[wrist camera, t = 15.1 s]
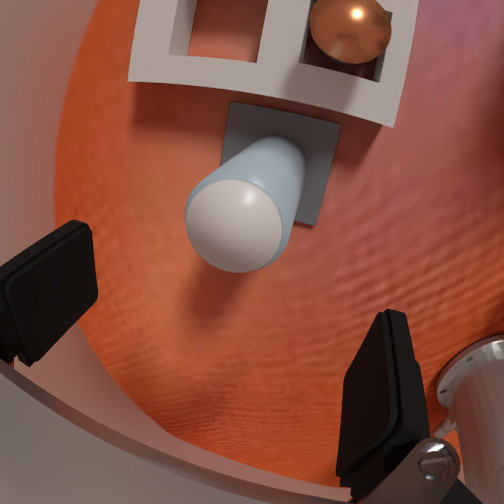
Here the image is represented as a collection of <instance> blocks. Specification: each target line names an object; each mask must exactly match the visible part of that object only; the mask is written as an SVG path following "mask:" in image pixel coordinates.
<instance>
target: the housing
mask: <svg viewBox="0 0 504 504" xmlns="http://www.w3.org/2000/svg"><path fill="white" fill-rule="evenodd" d="M197 1H198V0H140V5H139V10H138V15H137V21H136V27H135V33H134V39H133V45H132V52H131V59H130V67H129V75H128V81H134V82H156V83H171V84H183V85H194V86H203V87H212V88H220V89H228V90H235V91H241V92H248V93H254V94H260V95H265V96H271V97H276V98H281V99H286V100H291V101H296V102H300V103H305V104H309V105H314V106H318V107H322V108H326V109H330V110H334V111H338V112H342V113H345V114H349V115H353V116H356V117H360V118H363V119H366V120H370V121H373V122H376V123H379V124H383V125H386V126H389V127H392V128H393V127H394V123H395V119H396V115H397V111H398V107H399V103H400V98H401V94H402V90H403V85H404V80H405V76H406V71H407V66H408V61H409V56H410V51H411V45H412V39H413V34H414V28H415V21H416V15H417V8H418V1H419V0H376V1H377V2H378V3H379V4H380V5H381V6H382V7H383V8H384V10H385V11H386V13H387V15H388V17H389V19H390V22H391V27H392V34H391V39H390V42H389V44H388V46H387V48H386V49H385V50H384V51H383V52H382V53H381V54H380V55H379V56H377V61H376V66H375V71H374V76H373V81H370V80H367V79H364V78H360V77H357V76H353V75H349V74H346V73H342V72H338V71H334V70H330V69H326V68H321V67H317V66H312V65H308V64H303V58H304V53H305V48H306V43H307V37H308V32H309V27H310V23H309V19H310V13H311V10H312V8H313V6H314V4H315V3H316V2H317V1H318V0H269V1H268V6H267V11H266V16H265V21H264V26H263V32H262V37H261V42H260V47H259V53H258V58H257V63H252V62H245V61H237V60H228V59H219V58H208V57H194V56H188V50H189V44H190V38H191V32H192V27H193V21H194V16H195V11H196V6H197Z"/></svg>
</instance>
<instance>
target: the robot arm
mask: <svg viewBox="0 0 504 504" xmlns="http://www.w3.org/2000/svg"><path fill="white" fill-rule="evenodd" d="M97 298H98V287H97V279H96V271H95V261H94V250H93V238H92V231H91V230H90V228H89V225H88V224H87V223H84V222H80V221H77V220H71V221H69V222H67V223H66V224H64V225H63V226H61V227H59V228H58V229H56V230H54V231H53V232H51V233H50V234H48V235H47V236H45V237H43V238H42V239H40V240H39V241H37V242H36V243H34V244H33V245H31V246H30V247H28V248H27V249H25V250H24V251H22V252H21V253H19V254H18V255H16V256H15V257H13V258H12V259H10V260H9V261H8V262H6V263H5V264H3V265H2V266H1V267H0V504H504V334H503V335H497V336H493V337H489V338H486V339H484V340H481V341H479V342H477V343H475V344H473V345H472V346H470V347H468V348H467V349H465V350H464V351H462V352H461V353H460V354H458V355H457V356H456V357H455V358H454V359H453V360H452V361H451V362H450V363H449V364H448V365H447V366H446V367H445V368H444V370H443V371H442V373H441V374H440V376H439V378H438V381H437V384H436V393H437V398H438V401H439V402H440V404H441V405H442V406H444V407H445V408H448V413H447V414H446V416H445V420H444V421H442V422H441V423H440V424H439V425H438V426H437V427H436V428H435V429H434V431H433V433H434V436H435V437H430V430H429V421H428V414H427V407H426V400H425V393H424V387H423V381H422V376H421V370H420V366H419V363H418V362H417V361H415V356H414V351H413V346H412V341H411V336H410V331H409V327H408V322H407V318H406V315H405V313H403V312H399V311H395V310H391V309H386V310H385V311H384V313H383V312H379V313H378V314H377V315H376V317H375V319H374V321H373V323H372V325H371V327H370V329H369V331H368V333H367V335H366V337H365V339H364V341H363V343H362V345H361V347H360V349H359V350H358V352H357V354H356V356H355V358H354V360H353V361H352V363H351V365H350V367H349V369H348V370H347V372H346V375H345V378H344V383H343V399H342V413H341V426H340V437H339V447H338V456H337V465H336V476H338V477H341V478H340V486H341V487H350V488H351V494H350V495H351V496H352V498H351V499H350V500H349V501H348V502H342V501H336V500H331V499H326V498H321V497H315V496H309V495H304V494H299V493H294V492H289V491H285V490H281V489H276V488H272V487H268V486H264V485H260V484H256V483H253V482H249V481H245V480H241V479H238V478H234V477H231V476H228V475H224V474H221V473H218V472H215V471H212V470H209V469H206V468H203V467H199V466H197V465H194V464H192V463H189V462H186V461H183V460H181V459H178V458H175V457H173V456H170V455H168V454H166V453H163V452H160V451H158V450H156V449H154V448H151V447H149V446H147V445H144V444H142V443H140V442H137V441H135V440H133V439H131V438H129V437H127V436H125V435H123V434H121V433H119V432H117V431H115V430H113V429H111V428H109V427H107V426H105V425H103V424H101V423H99V422H97V421H96V420H94V419H92V418H90V417H88V416H86V415H84V414H83V413H81V412H79V411H78V410H76V409H74V408H72V407H70V406H69V405H67V404H66V403H64V402H63V401H61V400H59V399H58V398H56V397H55V396H53V395H51V394H50V393H48V392H47V391H45V390H43V389H42V388H41V387H39V386H38V385H36V384H35V383H33V382H32V381H30V380H29V379H27V378H26V377H24V376H23V375H22V374H20V373H19V372H18V371H16V370H15V369H14V357H15V356H16V355H17V356H18V359H19V361H21V362H22V363H24V364H25V365H27V366H28V367H30V366H31V365H32V364H33V363H34V362H35V361H39V360H40V359H41V358H42V357H43V356H44V355H45V354H46V352H48V351H49V349H50V348H51V347H52V346H53V345H54V344H55V343H56V342H57V341H58V340H59V339H60V338H61V337H62V336H63V335H64V334H65V333H66V332H67V331H68V329H69V328H70V327H71V326H72V325H73V324H74V323H75V322H76V321H77V320H78V319H79V318H80V317H81V316H82V315H83V314H84V313H85V312H86V311H87V310H88V309H89V308H90V307H91V306H92V305H93V304H94V303H95V302H96V300H97ZM453 428H455V431H456V432H457V433H458V438H459V444H460V450H461V456H462V463H463V471H464V479H465V485H464V484H463V483H462V482H461V481H460V480H459V479H458V478H457V477H458V475H459V472H460V459H459V455H458V454H457V452H456V450H455V448H454V447H453V446H452V445H451V444H450V443H448V442H447V441H445V440H444V439H443V438H444V437H445V436H446V435H447V434H448V433H449V432H450V431H451V430H452V429H453Z"/></svg>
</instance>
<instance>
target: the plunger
mask: <svg viewBox="0 0 504 504" xmlns="http://www.w3.org/2000/svg"><path fill="white" fill-rule="evenodd" d="M309 23H310V30H311V34H312V37H313V39H314V41H315V42H316V44H317V45H318V46H319V49H320V51H321V53H322V54H323V55H324V56H325V57H326V58H327V59H328V60H329V61H331V62H332V63H335V64H337V65H341V66H352V65H356V64H358V63H364V62H367V61H370V60H372V59H374V58H376V57H377V56H379V55H380V54H381V53H382V52H383V51H384V50H385V49H386V48H387V46H388V44H389V42H390V39H391V34H392V27H391V22H390V19H389V17H388V15H387V13H386V11H385V10H384V8H383V7H382V6H381V5H380V4H379V3H378V2H377V1H376V0H318V1H317V2H316V3H315V4H314V6H313V8H312V10H311V13H310V19H309Z"/></svg>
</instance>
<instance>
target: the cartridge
mask: <svg viewBox="0 0 504 504" xmlns="http://www.w3.org/2000/svg"><path fill="white" fill-rule="evenodd" d="M306 173H307V160H306V156H305V154H304V152H303V150H302V149H301V147H300V146H299V145H298V144H297V143H296V142H295V141H293V140H292V139H290V138H288V137H286V136H282V135H267V136H264V137H262V138H260V139H258V140H256V141H255V142H254V143H252V144H251V145H249V146H248V147H247V148H245V149H244V150H242V151H241V152H240V153H238V154H237V155H235V156H234V157H233V158H231V159H230V160H229V161H227V162H226V163H224V164H223V165H222V166H220V167H219V168H218V169H216V170H215V171H214V172H212V173H211V174H210V175H208V176H207V177H206V178H204V179H203V180H202V181H201V182H200V183H198V184H197V185H196V187H195V188H194V189H193V190H192V192H191V194H190V196H189V198H188V200H187V203H186V208H185V224H186V231H187V235H188V238H189V240H190V242H191V244H192V246H193V248H194V249H195V250H196V252H197V253H198V254H199V255H200V256H201V257H202V258H203V259H204V260H205V261H206V262H208V263H209V264H211V265H213V266H214V267H216V268H219V269H221V270H224V271H228V272H234V273H244V272H250V271H254V270H258V269H261V268H263V267H266V266H268V265H269V264H271V263H272V262H274V261H275V260H276V259H277V258H278V257H279V256H280V255H281V254H282V252H283V251H284V249H285V247H286V245H287V243H288V240H289V237H290V233H291V229H292V226H293V222H294V218H295V215H296V211H297V207H298V203H299V200H300V196H301V192H302V188H303V184H304V181H305V177H306Z"/></svg>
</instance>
